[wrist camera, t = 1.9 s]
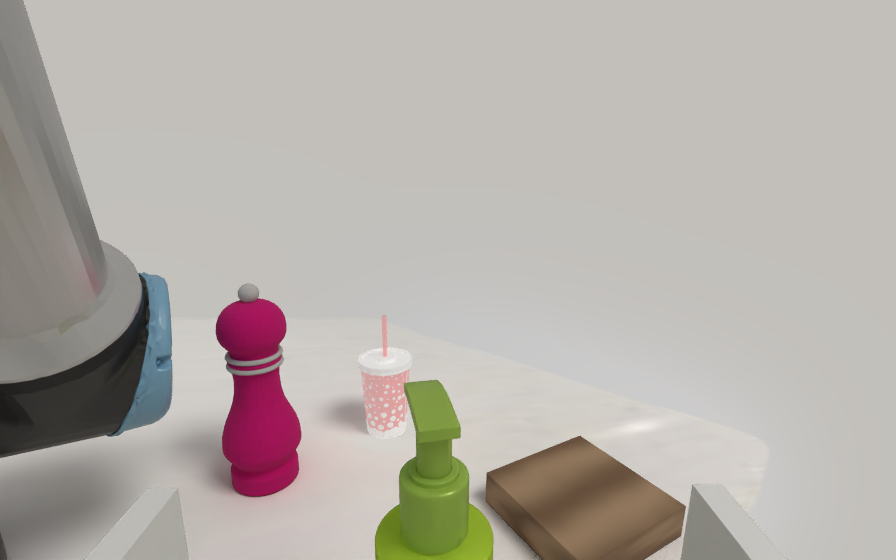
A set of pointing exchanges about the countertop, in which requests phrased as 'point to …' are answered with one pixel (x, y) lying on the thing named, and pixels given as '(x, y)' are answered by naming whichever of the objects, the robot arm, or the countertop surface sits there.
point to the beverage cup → (385, 388)
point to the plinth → (583, 505)
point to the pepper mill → (257, 397)
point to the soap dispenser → (433, 491)
